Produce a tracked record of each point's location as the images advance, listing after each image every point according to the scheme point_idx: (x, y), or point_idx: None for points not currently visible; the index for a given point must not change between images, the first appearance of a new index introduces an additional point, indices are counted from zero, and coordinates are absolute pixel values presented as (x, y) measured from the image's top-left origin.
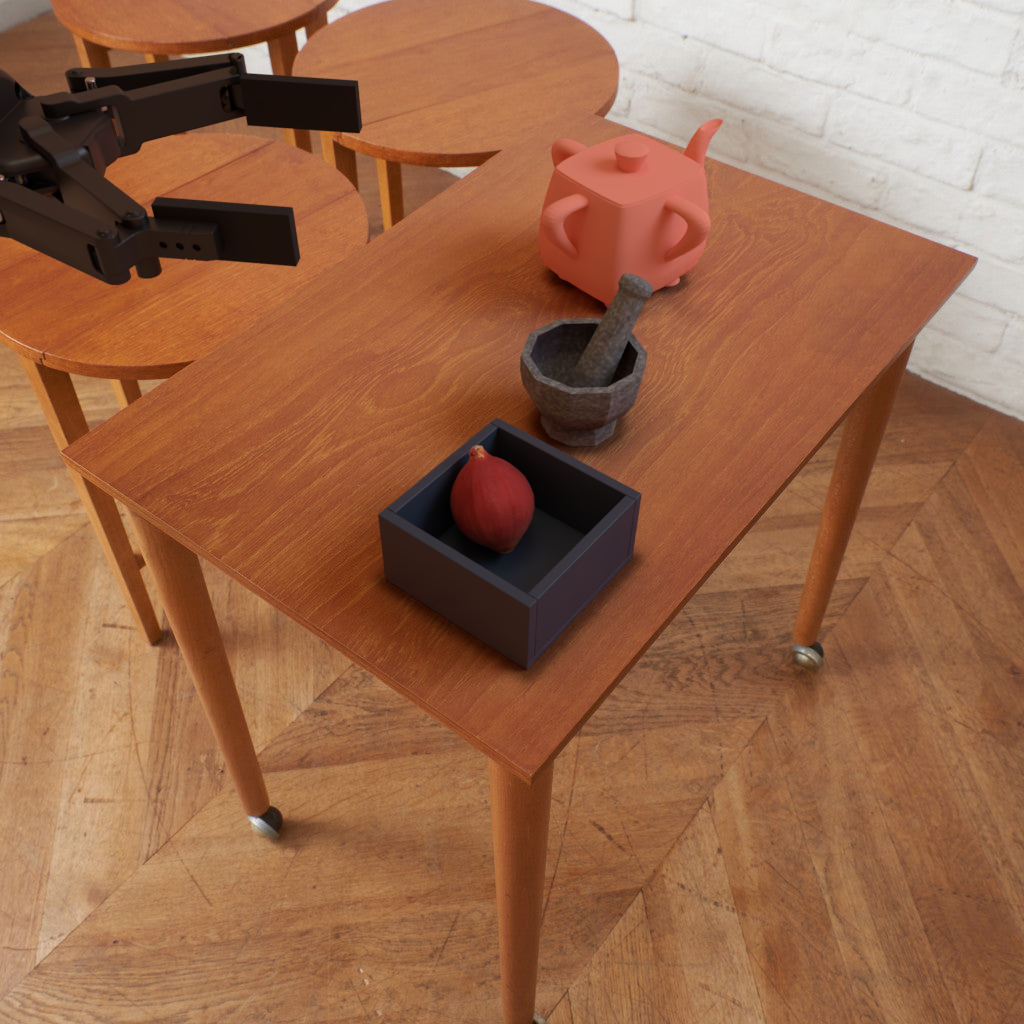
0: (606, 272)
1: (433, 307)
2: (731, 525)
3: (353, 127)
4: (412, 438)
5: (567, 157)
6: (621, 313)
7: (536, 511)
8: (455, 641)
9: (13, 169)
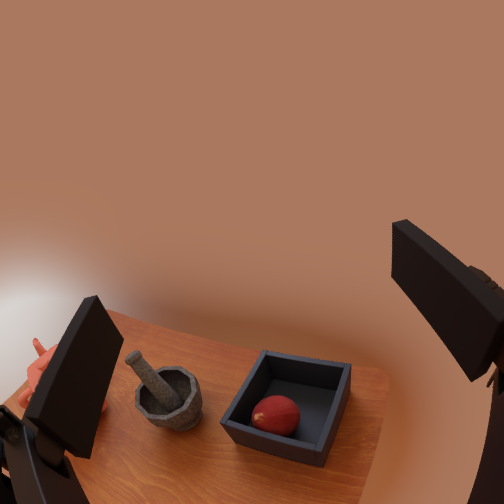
0: None
1: (96, 489)
2: (242, 349)
3: (119, 338)
4: (207, 490)
5: (27, 400)
6: (146, 367)
7: None
8: (348, 421)
9: None
